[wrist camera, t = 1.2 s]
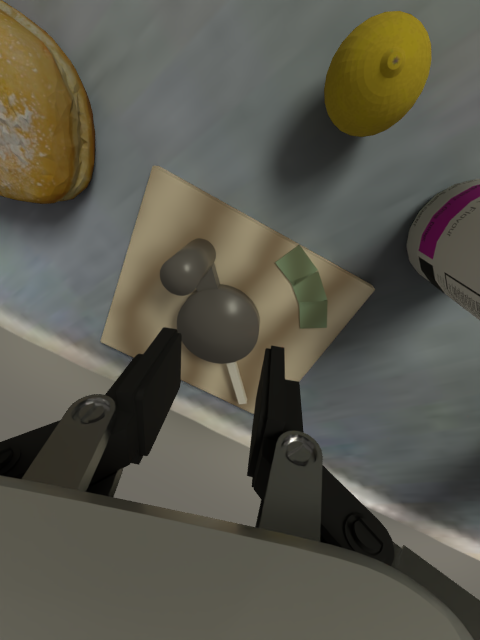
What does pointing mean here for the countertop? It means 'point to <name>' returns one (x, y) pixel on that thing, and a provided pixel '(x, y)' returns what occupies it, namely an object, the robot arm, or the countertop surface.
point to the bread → (41, 116)
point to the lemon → (377, 73)
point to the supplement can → (450, 243)
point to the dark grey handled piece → (211, 310)
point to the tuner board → (234, 270)
